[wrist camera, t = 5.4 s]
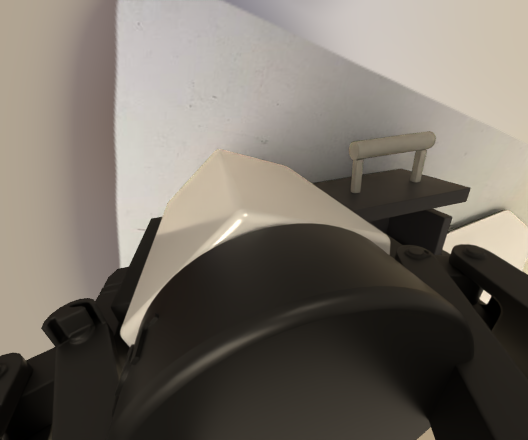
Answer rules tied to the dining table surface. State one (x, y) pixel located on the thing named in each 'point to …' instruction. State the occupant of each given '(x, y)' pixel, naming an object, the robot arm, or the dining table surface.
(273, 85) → the dining table surface
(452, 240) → the plate
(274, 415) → the jar
